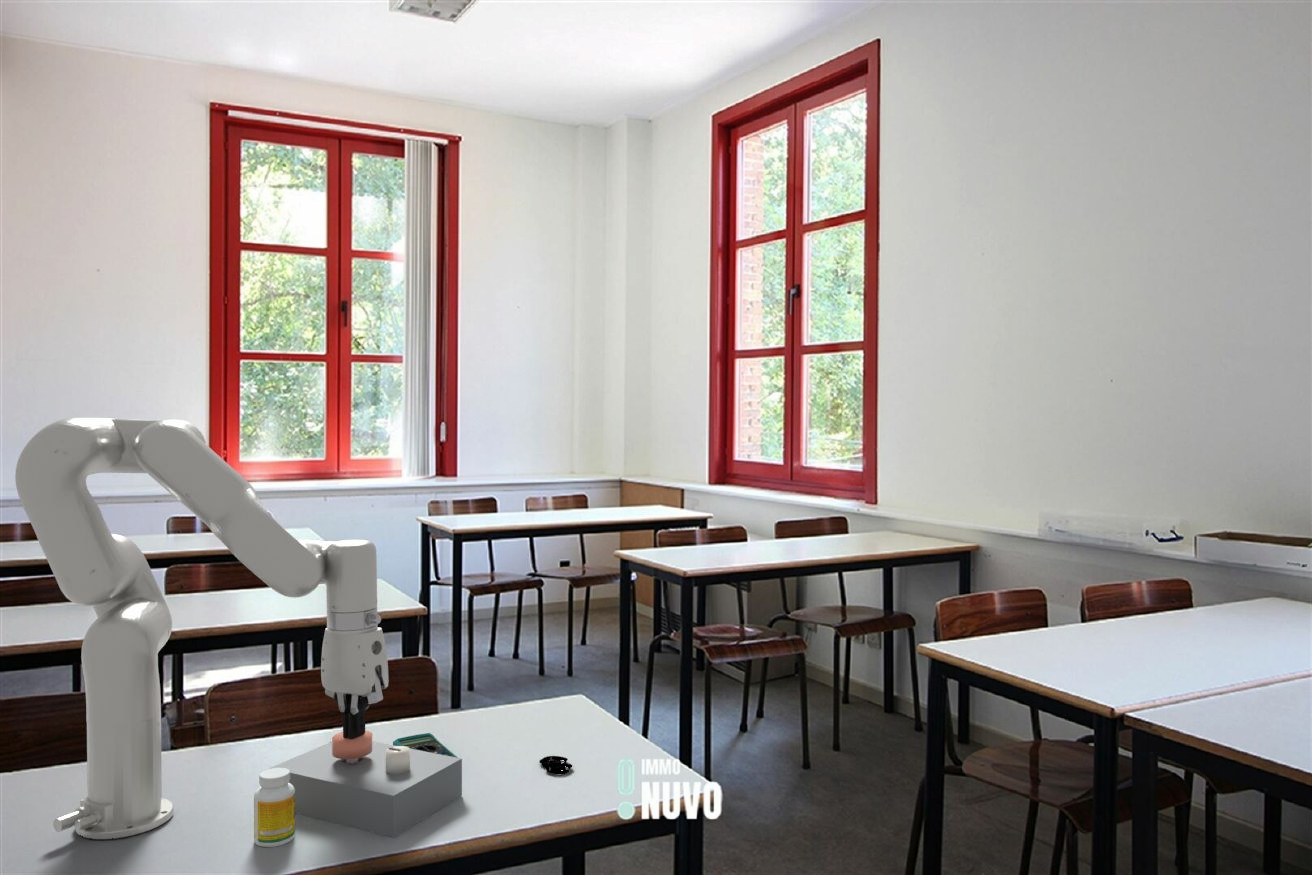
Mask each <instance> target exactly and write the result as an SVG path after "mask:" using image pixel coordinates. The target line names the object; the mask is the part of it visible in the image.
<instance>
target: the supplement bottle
mask: <svg viewBox="0 0 1312 875" xmlns="http://www.w3.org/2000/svg"><path fill="white" fill-rule="evenodd" d="M289 780H290V771H289V769H286V768H272V769H270V768H269V769H266V770H263V771H261V772H260V773H259V780H258V783H259V787H258V788H257V789H256V790H255V792H254V795H253V840H254V843H255V844H256V845H257V846H259V847H262V848H275V847H280V846H283V845H285V844H287V843H289V842H291V841H292V840H293V839H294V837H295V835H296V834H295V833H296V817H295V816H296V813H295V789H294V786H293V785H292V784H290V783H288V782H289Z"/></svg>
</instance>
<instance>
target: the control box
mask: <svg viewBox="0 0 1312 875" xmlns="http://www.w3.org/2000/svg"><path fill="white" fill-rule="evenodd" d="M389 747H395V745H393V744H390V743H389V744H388V743H383V742H378V741H374V740H372V752H371V753H370V754H369V755H366V756H364V757H360V758H358V762H357V763H355V764H349V763H346V759H339V758H335V757H333V755H332V741H330V742H328V743H325V744H323V745H321V746H318V747H316V748H314V749H311V750H309V751H307V752H306V751H305V753H301V754H300V755H297V756H295V757H293V758H289V759H287V760H286V761H284V762H281V763H279V764H277V765H273V766H271V767H269V769H272V768H286V769H289V771H290V780H289V782H288V783H290V784H292V785H293V786H294V789H295V814H297V815H301V816H305V817H310V818H313V819H317V820H322V821H325V822H331V823H334V824H337V825H343V826H346V827H349V828H354V829H359V830H363V831H366V832H370V833H374V834H379V835H383V836H386V837H392V838H395V837H397V836H399V835H401V833H403V832H405V831H406V830H408V829H410V828H412V827H413V826H415V825H416V824H418V823H420V822H422V821H423V820H425V819H427V818H429V817H430V816H432V815H433V814H435V813H437V812H439V811H440V810H442V809H443V808H445V807H446V806H449V805H450V804H452V803H453V802H456V801H457V800H458V799H459V798H461V797H462V796H463V759H462V758H460V757H458V758H456V757H451V756H446V755H441V754H436V753H430V752H425V751H420V750H415V749H410V770H409V771H407V772H405V773H401V774H389V773H387V772H386V750H387V749H388V748H389Z"/></svg>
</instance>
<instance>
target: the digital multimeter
mask: <svg viewBox="0 0 1312 875" xmlns="http://www.w3.org/2000/svg"><path fill="white" fill-rule="evenodd" d="M392 745H395V746H406V747H409V748H410V749H415V750H420V751H425V752H430V753H436V754H441V755H446V756H451V757H456V758H459V757H458V756H456V754H454V753H453V752H452V751H450V750H449V749H448V748H447V747H446V746H445V745H444V744H442V743H441V742H440V740H438V739H437V738H436V737H435V736H434V734H432V733H431V732H428V733H427V732H426V733H420V734H414V735H409V736H404V737H399V738H396V739H395V740H394V741H392Z"/></svg>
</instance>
